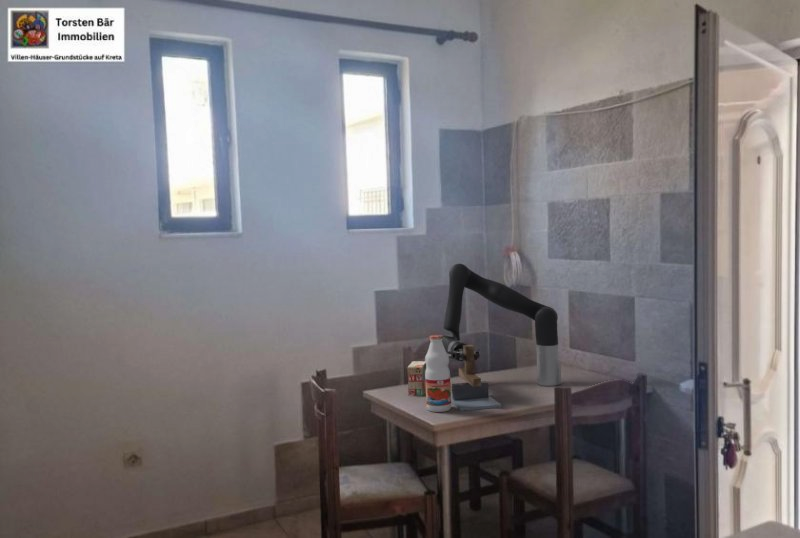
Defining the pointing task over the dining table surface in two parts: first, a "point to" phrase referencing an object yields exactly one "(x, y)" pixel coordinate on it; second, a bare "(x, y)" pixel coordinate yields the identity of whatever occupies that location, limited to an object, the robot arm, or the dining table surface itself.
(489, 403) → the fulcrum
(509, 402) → the dining table surface
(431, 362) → the fruit juice
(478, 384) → the walnut beam
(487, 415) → the dining table surface
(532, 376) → the dining table surface
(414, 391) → the cardboard food box
